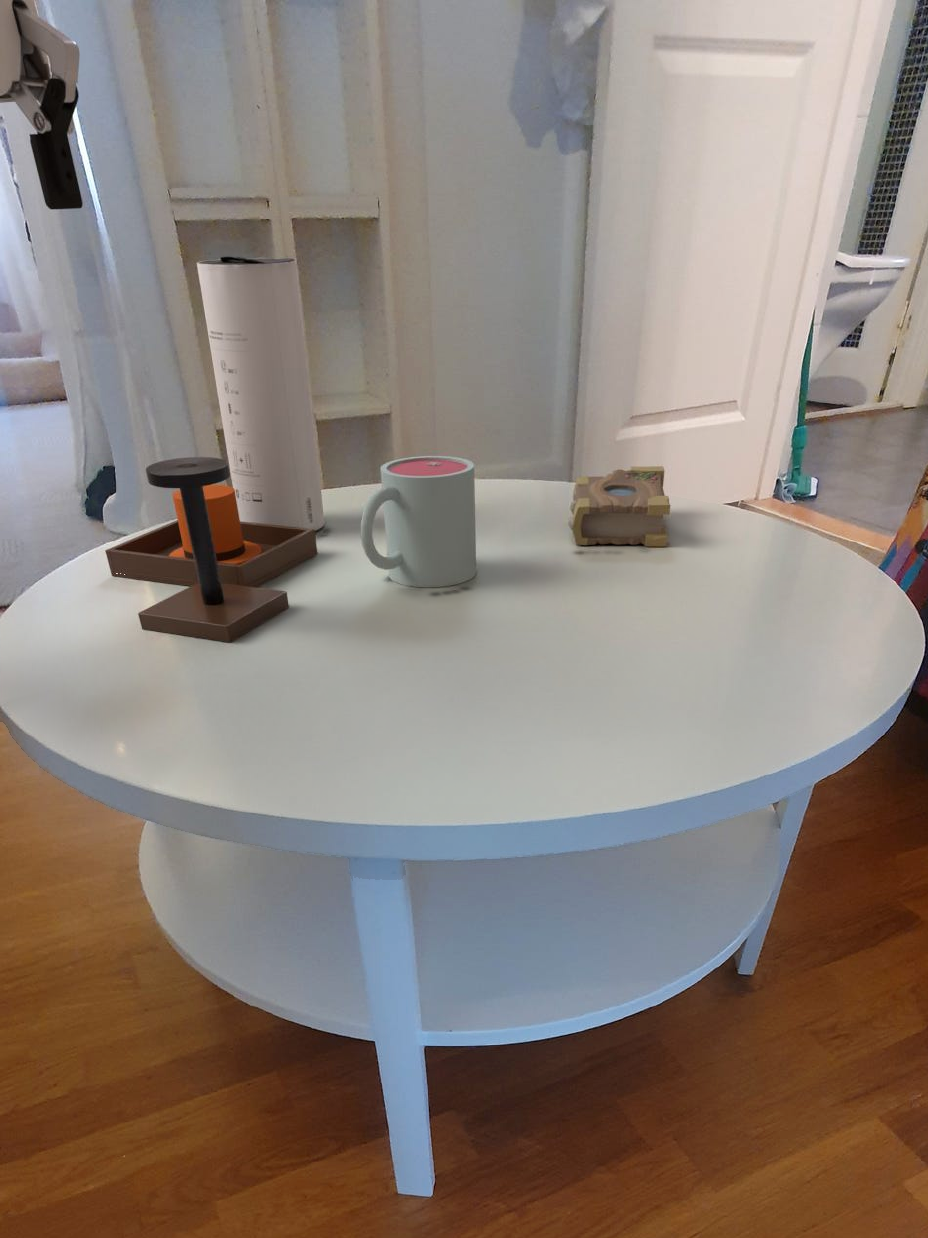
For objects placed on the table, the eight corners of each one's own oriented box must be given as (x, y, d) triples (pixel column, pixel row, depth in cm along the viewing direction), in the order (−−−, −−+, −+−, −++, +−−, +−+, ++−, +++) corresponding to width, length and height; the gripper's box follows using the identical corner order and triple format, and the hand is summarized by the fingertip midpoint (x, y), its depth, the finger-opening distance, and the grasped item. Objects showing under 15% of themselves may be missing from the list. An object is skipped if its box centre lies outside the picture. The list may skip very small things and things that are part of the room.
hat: (150, 567, 100) (134, 500, 96) (205, 541, 107) (193, 477, 103) (227, 577, 97) (214, 508, 93) (279, 550, 104) (270, 484, 99)
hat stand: (141, 629, 88) (102, 474, 79) (205, 595, 94) (175, 450, 86) (230, 642, 84) (199, 483, 76) (289, 607, 91) (267, 457, 83)
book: (667, 547, 103) (672, 497, 100) (567, 547, 104) (569, 498, 101) (658, 511, 114) (663, 466, 111) (568, 512, 115) (569, 467, 112)
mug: (432, 554, 103) (428, 452, 97) (494, 571, 98) (493, 464, 92) (337, 585, 96) (325, 477, 89) (398, 605, 91) (390, 492, 84)
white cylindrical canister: (344, 526, 113) (316, 252, 96) (273, 545, 107) (230, 258, 90) (291, 511, 119) (256, 250, 102) (222, 528, 113) (172, 256, 96)
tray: (111, 576, 100) (104, 550, 98) (192, 539, 110) (187, 515, 108) (245, 593, 95) (240, 566, 93) (317, 553, 104) (314, 528, 103)
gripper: (-226, -139, 59) (-110, 214, 70) (-22, -182, 53) (70, 209, 64) (-126, -114, 64) (-32, 211, 75) (70, -152, 58) (140, 206, 69)
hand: (15, 210), depth 70 cm, fingers open, 9 cm apart
